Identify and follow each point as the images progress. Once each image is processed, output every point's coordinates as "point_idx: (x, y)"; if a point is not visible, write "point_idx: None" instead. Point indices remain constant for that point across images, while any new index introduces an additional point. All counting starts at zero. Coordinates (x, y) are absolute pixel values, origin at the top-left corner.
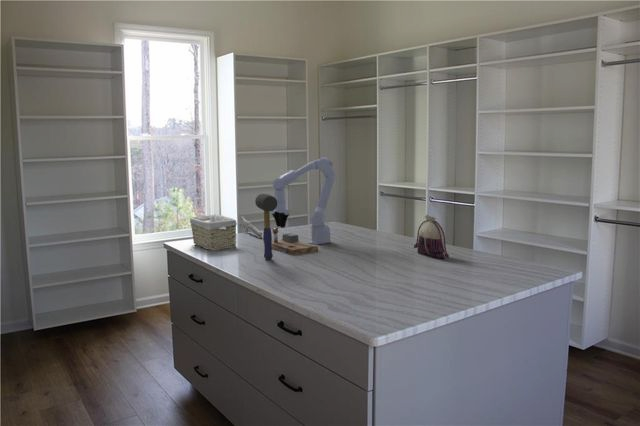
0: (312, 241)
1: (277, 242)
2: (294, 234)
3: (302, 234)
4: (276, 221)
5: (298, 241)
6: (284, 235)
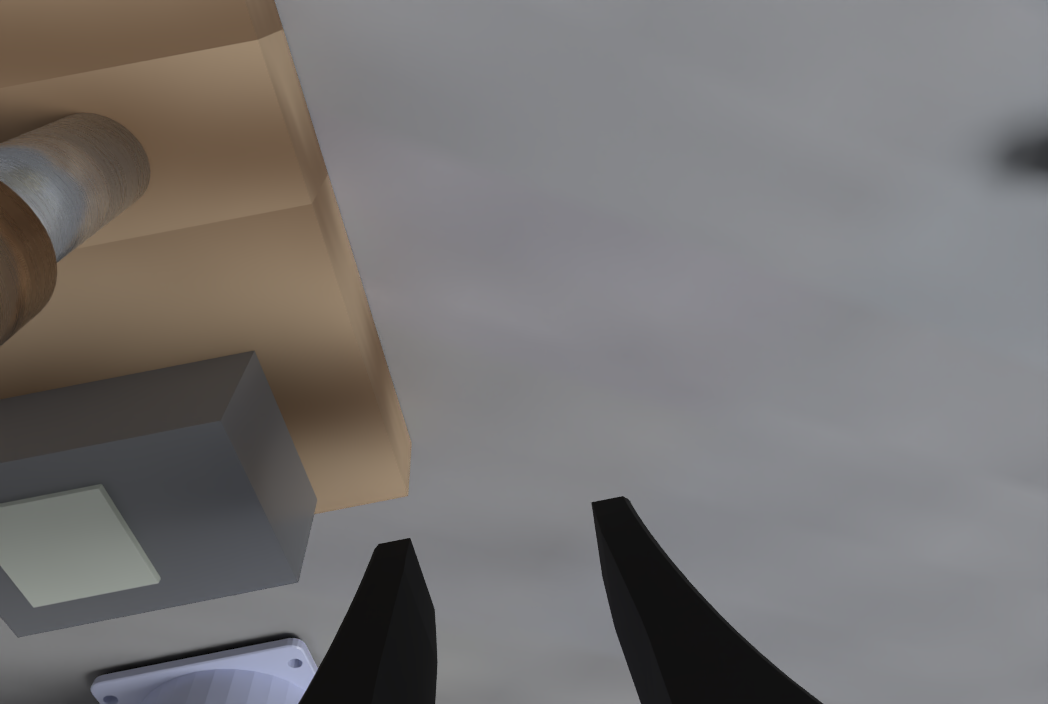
0: (198, 684)
1: None
2: (124, 604)
3: (838, 690)
4: (636, 610)
5: None
6: (132, 431)
